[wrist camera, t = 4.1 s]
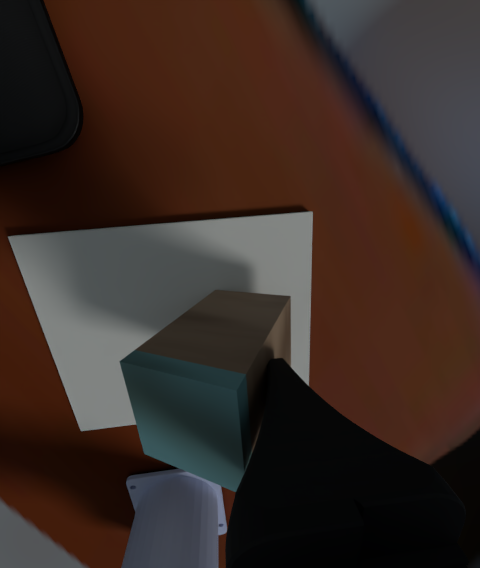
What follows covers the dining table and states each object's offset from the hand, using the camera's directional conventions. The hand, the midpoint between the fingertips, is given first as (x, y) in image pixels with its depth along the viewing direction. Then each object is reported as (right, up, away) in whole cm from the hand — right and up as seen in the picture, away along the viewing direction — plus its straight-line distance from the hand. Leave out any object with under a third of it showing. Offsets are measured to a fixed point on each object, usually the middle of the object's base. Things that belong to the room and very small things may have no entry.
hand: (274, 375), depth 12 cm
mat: (-6, +1, +6) cm, 8 cm away
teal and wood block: (-1, +1, +5) cm, 5 cm away
